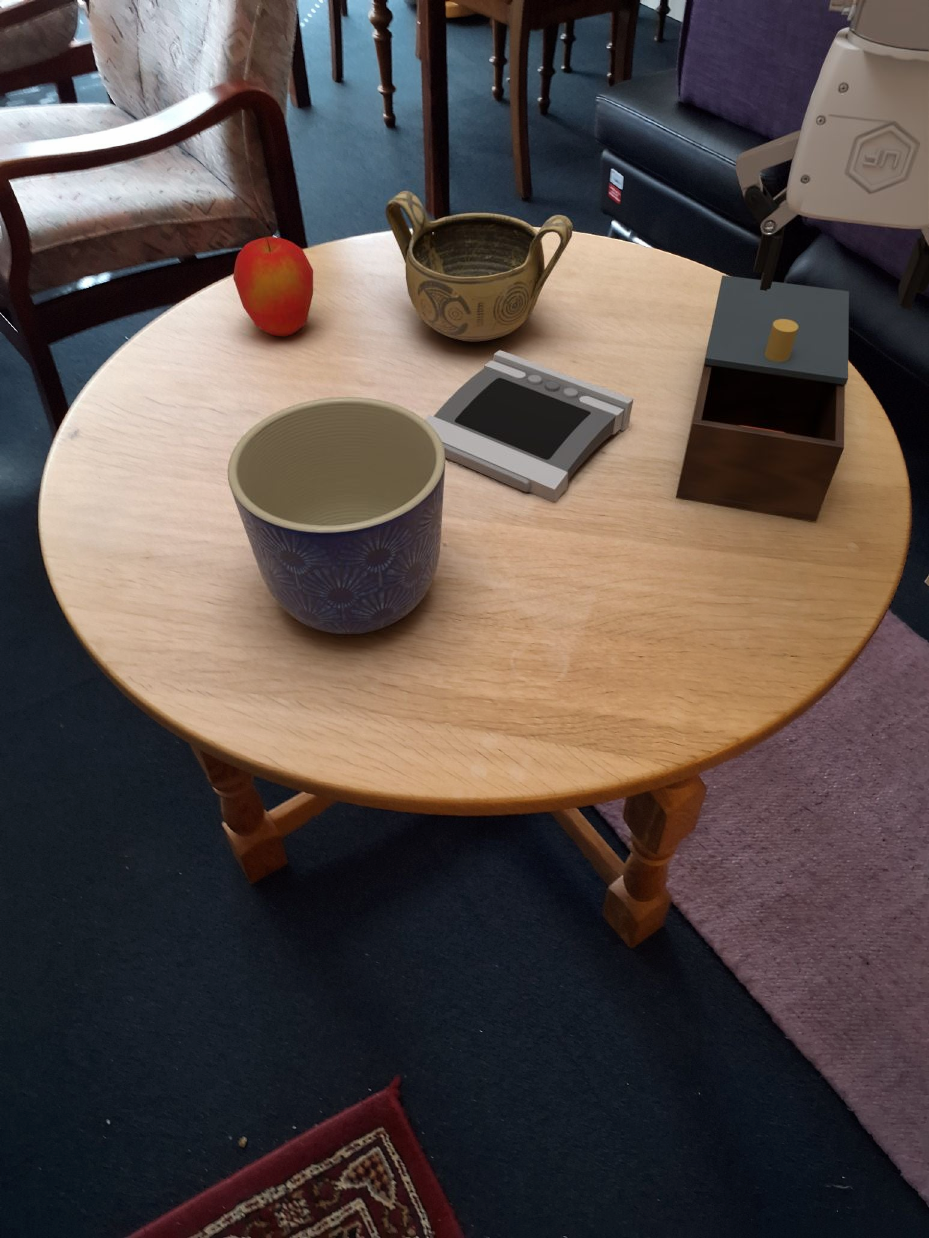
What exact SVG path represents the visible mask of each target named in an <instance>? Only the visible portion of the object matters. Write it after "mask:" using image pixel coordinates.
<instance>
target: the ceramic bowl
mask: <svg viewBox="0 0 929 1238" xmlns="http://www.w3.org/2000/svg"><path fill="white" fill-rule="evenodd" d="M402 210H403V211H402ZM403 212H404V213H403ZM404 214H405V215H406V217H407V219H408V221H409V224H410V226H411V230H412V232H411V230H410V228H409V225H408V223H407V220H406V219H405V217H404ZM385 217H386V220H387V223H388V225H389V227H390V229H391V232H392V234H393V236H394V239H395V240H396V243H397V245H398V248H399V250H400V253H401V256H402V258H403V261H404V263H405V267H404V268H405V283H406V288H407V293H408V296H409V298H410V301H411V304H412V306H413V308H414V309H415V312H416V313H417V314H418V316H419V318H420V319H421V320H422V321H423V322H424V323H425V324H426V325H428V326H429V327H430V328H432V329H433V330H434V331H436V332H438V333H439V334H441V335H443V336H446V337H448V338H450V339H454V340H459V341H463V342H472V343H473V342H474V343H476V342H477V343H479V342H487V341H491V340H495V339H499V338H501V337H505V336H506V335H509V334H511V333H512V332H514V331H516V330H517V329H518V328H519V327H520V326H522V325H523V324H524V323H525V322H526V321H527V320H528V318H529V317H530V315H531V314H532V312H533V311H534V309H535V306H536V304H537V302H538V299H539V297H540V294H541V292H542V290H543V287H544V285H545V283H546V282H547V280H548V278H549V277H550V275H551V273H552V271H553V270H554V268H555V266H556V265H557V263H558V262H559V259H560V258H561V257H562V254H563V253H564V251H565V250H566V248H567V246H568V244H569V243H570V241H571V239H572V237H573V229H574V226H573V223H572V222H571V221H572V220H570V218H569V217H567V216H566V215H561V214H554V215H553V216H550V218H548V219H547V220H546V221H545V222H544V223H543V224H542V226H541V227H540V228H539V230H538V231H537V230H536V228H535V227H533V226H532V225H531V224H530V223H528V222H526V221H524V220H522V219H519V218H518V217H517V218H516V217H512V216H509V215H504V214H498V213H491V212H468V213H466V212H465V213H459V214H454V215H448V216H444V217H441V218H438V219H436V220H430V219H429V218H428V216H427V212H426V209H425V208H424V206H423V203H422V202H421V200H420V199H419V198H418V197H417V196H416V195H415V194H414V193H413V192H411V191H409V190H402V191H401V192H398V194H396V195H395V196H393V197H392V198H391V199H390V200H389V201H388V202H387V204H386V206H385ZM548 233H556V234H557V235H558V236H559V239H560V242H559V244H558V247H557V248H556V250H555V252H553V253H554V254H553V255H552V257H551V258H550V260H549V261H548V264H547V265H546V263H545V253H544V248H543V237H545V235H546V234H548ZM545 265H546V266H545Z"/></svg>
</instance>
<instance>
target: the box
mask: <svg viewBox="0 0 929 1238" xmlns="http://www.w3.org/2000/svg"><path fill="white" fill-rule="evenodd" d="M710 333H711V331H710V332H709V334H710ZM707 341H708V342H709V340H707ZM708 342H707V343H708ZM707 347H708V345H707V346H706V348H707ZM706 352H707V350H706V351H705V353H706ZM705 357H706V354H705V356H704V358H705ZM704 362H705V359H704V360H703V365H702V369H701V374H700V378H699V383H698V388H697V393H696V398H695V402H694V407H693V412H692V417H691V421H690V425H689V432H688V436H687V440H686V445H685V450H684V455H683V460H682V465H681V470H680V475H679V480H678V485H677V489H676V494H675V498H676V499H682V500H688V501H693V502H699V503H704V504H710V505H716V506H721V507H726V508H732V509H738V510H744V511H750V512H755V513H761V514H766V515H767V514H768V515H773V516H777V517H778V516H779V517H784V518H788V519H789V518H790V519H796V520H801V521H807V522H811V523H817V521H818V518H819V515H820V512H821V510H822V507H823V504H824V502H825V499H826V497H827V494H828V491H829V488H830V486H831V483H832V481H833V478H834V475H835V473H836V471H837V469H838V465H839V462H840V459H841V457H842V455H843V451H844V449H845V415H846V414H845V410H846V409H845V406H846V405H845V404H846V401H845V400H846V385H841V384H834V383H828V382H821V381H814V380H807V379H800V378H794V377H787V376H780V375H773V374H766V373H759V372H753V371H746V370H739V369H732V368H725V367H718V366H712V365H705V364H704ZM740 425H742V426H740ZM743 426H749V427H755V428H761V429H755V428H749V427H743ZM762 429H767V430H762ZM768 430H774V431H780V432H774V431H768ZM781 432H785V433H781Z"/></svg>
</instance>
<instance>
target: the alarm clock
mask: <svg viewBox="0 0 929 1238" xmlns="http://www.w3.org/2000/svg"><path fill="white" fill-rule="evenodd" d="M633 404H634V398H633V397H630V396H626V395H624V394H621V393H619V392H616V391H614V390H610V389H608V388H605V387H602V386H599V385H597V384H594V383H591V382H589V381H585V380H583V379H580V378H578V377H575V376H572V375H569V374H566V373H563V372H560V371H558V370H555V369H553V368H551V367H548V366H544V365H542V364H539V363H537V362H534V361H531V360H528V359H525V358H523V357H521V356H517V355H515V354H512V353H510V352H506V351H503V350H501V349H499V350H498V351H496V352H495V353H493V359H492V360H490V361H488V362H487V363H485V364H484V367H483V368H482V369H481V370H480V371H478V372H477V373H475V374H474V375H473V376H472V377H470V378H469V379H468V380H467V381H466V382H465V383H464V384H463V385H462V386H461V387H459V388H458V389H457V390H456V391H455V392H454V393H453V395H451V396H450V397H449V398H448V399H447V401H445V403H444V404H443V405H442V406H441V407H440V408H439V409H438V410H437V412H435V414H434V415H431V414H428V415H427V417H426V418H425V419H424V420H425V421H426V422H428V423H429V424H430V425H431V426H432V428H433V429H434V430H435V431H436V433H437V434H438V435H439V437H440V439H441V441H442V444H443V447H444V451H445V459H448V460H450V461H452V462H455V463H457V464H459V465H462V466H464V467H467V468H468V469H470V470H473V471H475V472H478V473H480V474H482V475H484V476H487V477H489V478H492V479H494V480H495V481H499V482H501V483H503V484H505V485H508V486H510V487H512V488H515V489H517V490H519V491H522V492H526V493H528V492H530V493H531V494H534V495H536V496H538V497H541V498H544V499H545V500H548V501H550V502H552V503H556V502H557V501H558V500H559V498H560V497H562V495H563V494H564V493H565V491H566V490H567V489H568V484H569V480H570V479H571V477H572V476H573V475H574V474H575V472H576V471H577V470H578V469H579V468H580V466H581V465H582V464H583V463H584V462H585V461H586V460H587V459H588V458H589V457H590V455H592V453H594V451H595V450H596V449H598V448H599V446H600V445H602V443H603V442H605V441H606V440H607V439H608V438H609V437H610V436H611V435H616V434H617V433H618V432H619V431H622V432H624V431H625V430H626V429H627V428H628V427H629V426H630V420H631V415H632V411H633V410H632V409H633Z"/></svg>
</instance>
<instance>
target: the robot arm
mask: <svg viewBox="0 0 929 1238" xmlns="http://www.w3.org/2000/svg"><path fill="white" fill-rule="evenodd" d="M828 12H836V13H837V12H838V13H840V15H841V16H846V21H849V22H850V24H849V26H848V27H844V28H842V29H840V30H839V31H837V33H836V35H835V37H834V39H833V41H832V43H831V45H830V47H829V50H828V51H827V54H826V57H825V59H824V61H823V63H822V66H821V69H820V72H819V75H818V78H817V80H816V83H815V86H814V88H813V91H812V93H811V96H810V99H809V102H808V105H807V108H806V110H805V114H804V117H803V121H802V124H801V127H800V129H798V130H796V131H794V132H791V133H789V134H785V135H783V136H781V137H779V138H776V139H772V140H771V141H769V142H766V143H765V142H764V143H763V144H761V145H758V146H755V147H752V148H750V149H747V150H745V151H743V152H740V153H739V154H738V156H737V157H736V162H735V166H734V167H735V172H736V176H737V179H738V182H739V183H738V184H739V186H740V190H741V192H742V196H743V203H744V204H745V206H746V207H747V209H748V211H750V213H751V215H752V216H753V217H754V219H755V220H756V222H757V223H758V224H759V226H760V231H761V236H760V241H759V245H758V249H757V254H756V257H755V262H754V267H753V273H759V274H761V279H760V280H761V285H760V290H765V291H767V289H770V288H771V285H772V282H774V277H775V274H776V270H777V265H778V262H779V257H780V254H781V251H782V246H783V242H784V239H785V229H786V225H787V224H788V223H789V222H791V221H792V220H793V219H795V218H796V217H797V216H798V215H800V216H802V217H805V218H810V219H816V220H825V221H831V222H841V223H849V224H858V225H867V226H876V227H884V228H895V229H906V230H920V231H921V232H922V234H920V236H919V237H917V238H916V239H915V241H914V244H913V247H912V250H911V251H910V255H909V258H908V260H907V263H906V265H905V269H904V271H903V274H902V276H901V279H900V282H899V285H898V288H897V289H898V290H897V291H898V304H899V307H901V308H902V309H904V310H911V308H912V307H913V304H914V301H915V298H916V296H917V294H925V293H926V292H927V289H928V287H929V0H830V3H829V5H828ZM789 161H791V165H790V170H789V175H788V180H787V185H786V187H785V188H784V189H782V190H781V191H780V192H779V193H778V194H777V195H776V196H774V197H772V195H771V194H770V192H769V190H768V189H767V188H766V187H765V185H764V184H763V183H762V178H761V172H762V171H765V170H767V169H770V168H772V167H775V166H778V165H780V164H783V163H786V162H789Z"/></svg>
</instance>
